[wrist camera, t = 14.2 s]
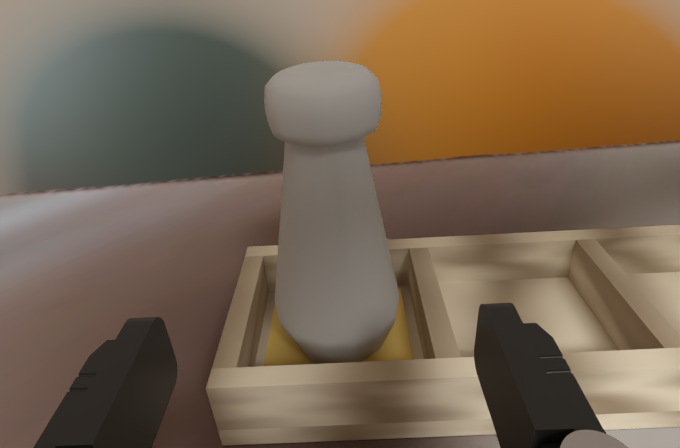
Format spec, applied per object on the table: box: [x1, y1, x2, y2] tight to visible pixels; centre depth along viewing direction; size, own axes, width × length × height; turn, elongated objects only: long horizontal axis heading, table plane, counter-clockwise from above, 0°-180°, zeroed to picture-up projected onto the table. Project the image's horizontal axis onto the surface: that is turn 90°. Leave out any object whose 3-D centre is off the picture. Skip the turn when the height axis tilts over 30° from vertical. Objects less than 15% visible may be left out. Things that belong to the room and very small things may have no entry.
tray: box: [206, 225, 680, 446], centre depth 23 cm, size 28×10×4 cm, turn 90°
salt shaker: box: [264, 61, 399, 364], centre depth 20 cm, size 6×6×13 cm
